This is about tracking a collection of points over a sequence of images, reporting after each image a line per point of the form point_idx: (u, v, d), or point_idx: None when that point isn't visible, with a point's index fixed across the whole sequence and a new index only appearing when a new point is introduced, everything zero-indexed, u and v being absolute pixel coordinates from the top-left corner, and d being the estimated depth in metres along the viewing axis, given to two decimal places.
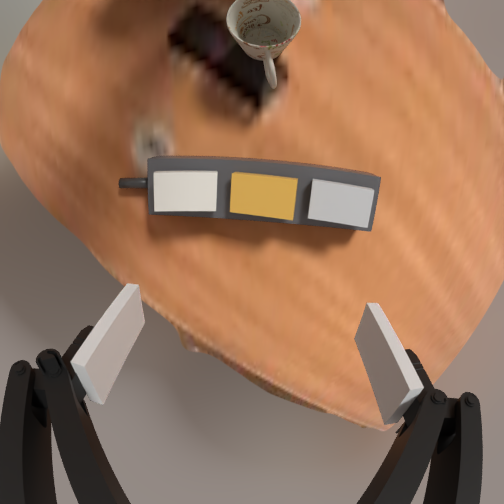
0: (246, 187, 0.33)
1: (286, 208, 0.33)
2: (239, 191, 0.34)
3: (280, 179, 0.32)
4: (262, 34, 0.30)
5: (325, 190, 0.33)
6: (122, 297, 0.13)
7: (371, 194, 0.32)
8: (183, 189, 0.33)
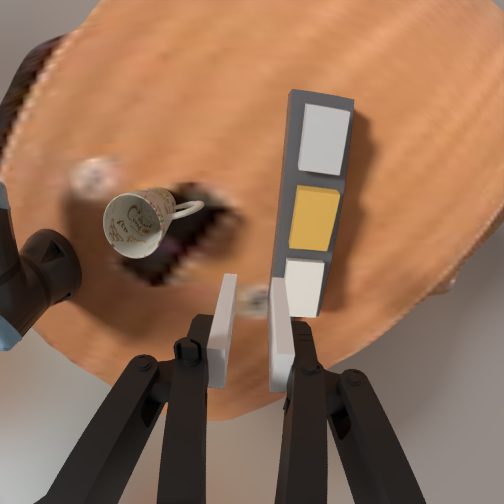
0: (304, 236, 0.34)
1: (327, 201, 0.31)
2: (307, 242, 0.35)
3: (297, 205, 0.32)
4: (148, 207, 0.40)
5: (309, 157, 0.30)
6: (227, 285, 0.15)
7: (312, 107, 0.27)
8: (300, 291, 0.37)
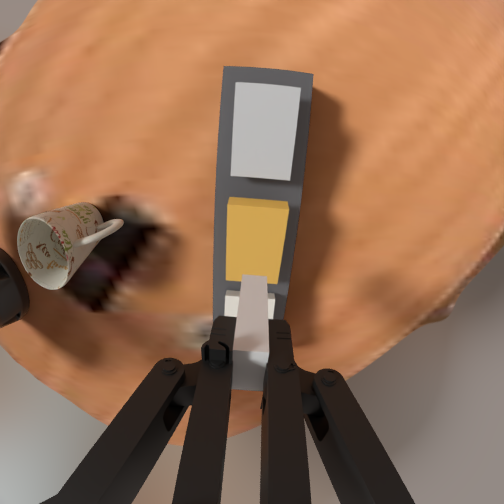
0: (243, 265, 0.26)
1: (270, 218, 0.23)
2: (249, 273, 0.26)
3: (228, 226, 0.23)
4: None
5: (244, 156, 0.22)
6: (246, 286, 0.15)
7: (242, 86, 0.18)
8: None
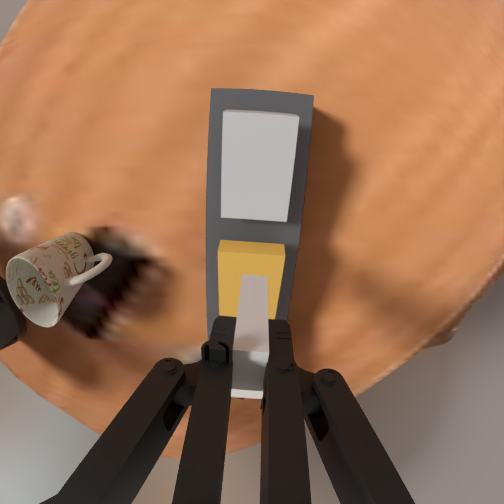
0: (237, 309, 0.24)
1: (264, 265, 0.21)
2: None
3: (219, 272, 0.22)
4: None
5: (235, 197, 0.20)
6: (246, 286, 0.15)
7: (231, 116, 0.17)
8: None
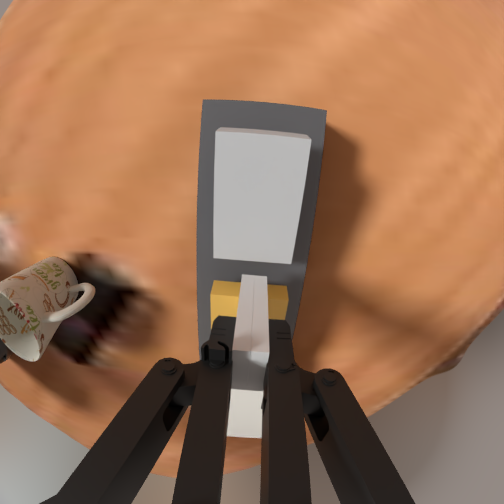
0: None
1: None
2: None
3: (213, 317, 0.18)
4: None
5: (230, 235, 0.17)
6: (246, 286, 0.15)
7: (226, 137, 0.13)
8: (235, 413, 0.23)
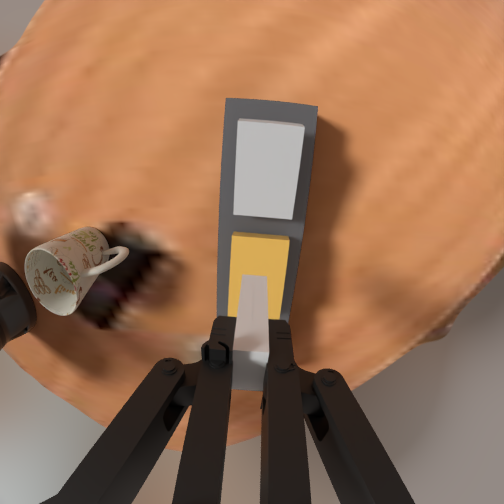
0: None
1: (272, 250, 0.24)
2: None
3: (232, 257, 0.24)
4: None
5: (246, 196, 0.22)
6: (246, 286, 0.15)
7: (245, 125, 0.19)
8: None
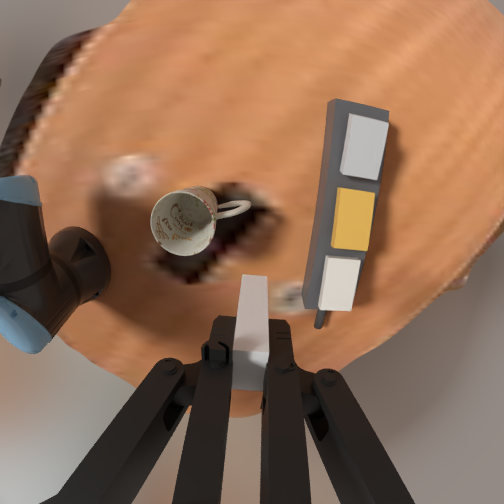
0: (346, 234, 0.35)
1: (364, 198, 0.34)
2: (350, 241, 0.35)
3: (340, 202, 0.34)
4: (188, 206, 0.42)
5: (352, 163, 0.32)
6: (246, 286, 0.15)
7: (356, 117, 0.29)
8: (338, 286, 0.39)
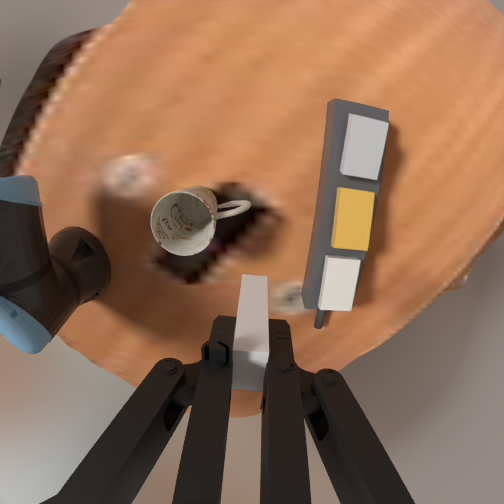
0: (347, 234, 0.35)
1: (364, 198, 0.34)
2: (350, 241, 0.35)
3: (340, 202, 0.34)
4: (188, 205, 0.42)
5: (352, 162, 0.32)
6: (246, 286, 0.15)
7: (356, 117, 0.29)
8: (338, 286, 0.39)
